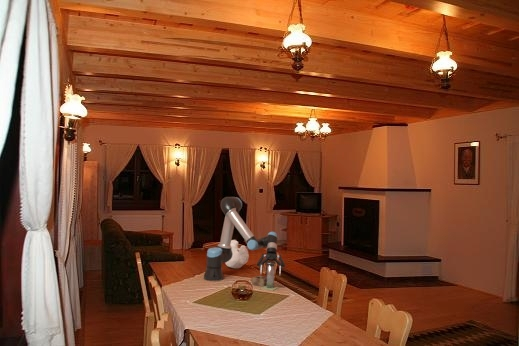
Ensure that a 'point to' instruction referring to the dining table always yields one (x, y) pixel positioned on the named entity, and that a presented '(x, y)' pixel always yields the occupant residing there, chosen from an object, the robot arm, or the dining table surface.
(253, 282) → the collar
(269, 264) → the silver metallic cylinder
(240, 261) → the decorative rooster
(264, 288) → the mat
